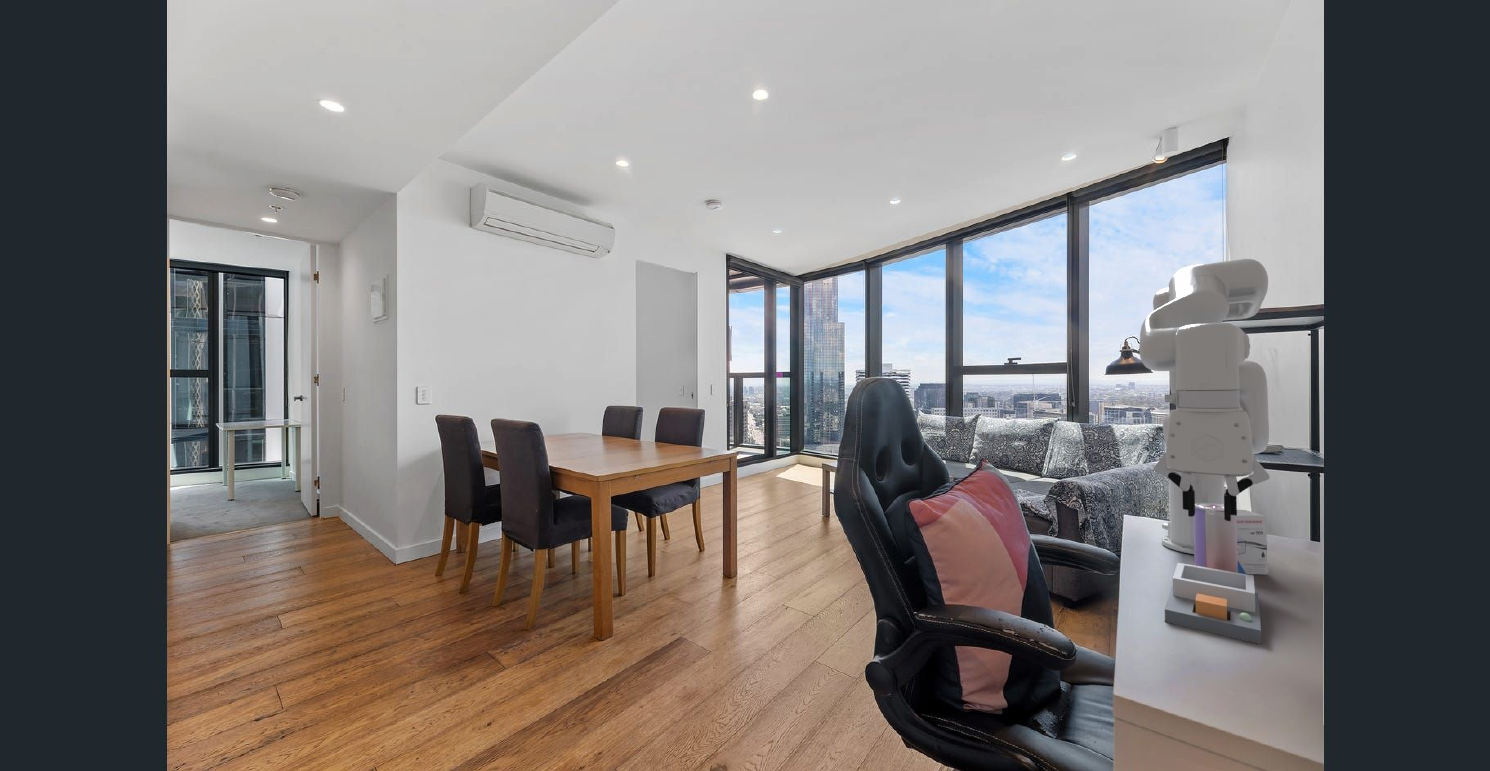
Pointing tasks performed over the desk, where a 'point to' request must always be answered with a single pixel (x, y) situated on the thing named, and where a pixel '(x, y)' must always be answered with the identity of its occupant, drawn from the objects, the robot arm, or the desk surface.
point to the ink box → (1251, 543)
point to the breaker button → (1211, 606)
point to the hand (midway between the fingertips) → (1209, 515)
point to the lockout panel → (1222, 585)
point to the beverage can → (1215, 538)
